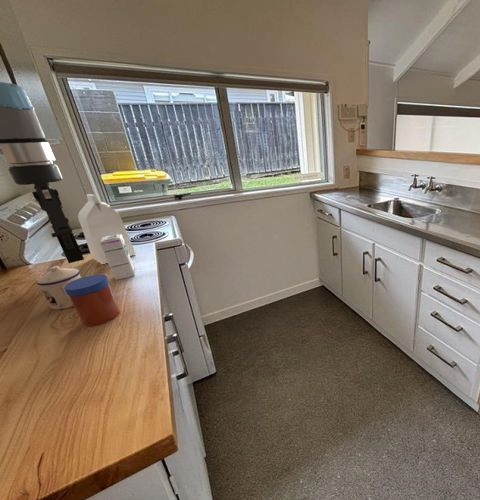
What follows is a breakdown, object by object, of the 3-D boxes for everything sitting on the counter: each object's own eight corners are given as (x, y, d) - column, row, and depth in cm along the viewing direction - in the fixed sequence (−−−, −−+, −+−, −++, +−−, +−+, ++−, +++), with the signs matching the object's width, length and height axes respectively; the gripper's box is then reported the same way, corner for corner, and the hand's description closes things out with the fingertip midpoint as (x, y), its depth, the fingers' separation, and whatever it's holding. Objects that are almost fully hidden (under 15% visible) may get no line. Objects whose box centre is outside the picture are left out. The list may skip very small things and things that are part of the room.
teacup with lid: (47, 304, 84) (29, 269, 80) (86, 291, 91) (71, 258, 86) (55, 317, 77) (35, 280, 73) (96, 302, 84) (81, 267, 80)
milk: (92, 259, 116) (66, 196, 107) (125, 249, 125) (103, 191, 115) (102, 265, 110) (75, 199, 100) (136, 255, 119) (114, 193, 109)
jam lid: (64, 300, 68) (61, 293, 67) (68, 287, 74) (65, 281, 73) (109, 288, 73) (106, 282, 72) (109, 277, 79) (107, 271, 78)
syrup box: (135, 275, 100) (121, 237, 95) (114, 280, 97) (98, 241, 92) (135, 270, 105) (122, 233, 99) (115, 274, 101) (100, 236, 96)
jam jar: (81, 330, 72) (64, 294, 68) (83, 316, 78) (67, 282, 74) (120, 317, 76) (106, 283, 72) (119, 305, 82) (106, 273, 78)
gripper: (8, 164, 67) (48, 248, 75) (5, 168, 51) (56, 273, 59) (52, 161, 72) (85, 240, 80) (61, 164, 56) (101, 261, 64)
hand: (73, 254), depth 70 cm, fingers open, 12 cm apart
